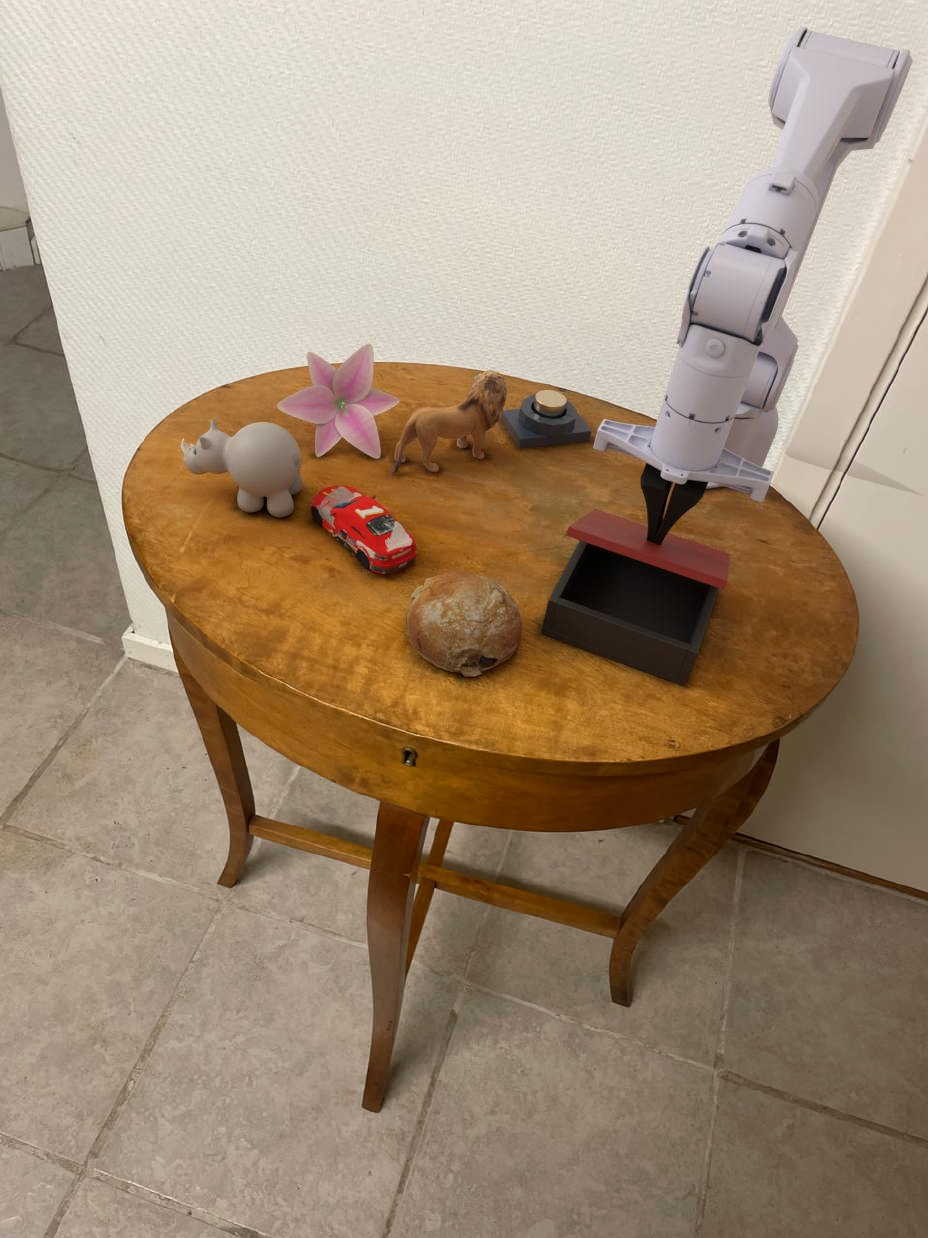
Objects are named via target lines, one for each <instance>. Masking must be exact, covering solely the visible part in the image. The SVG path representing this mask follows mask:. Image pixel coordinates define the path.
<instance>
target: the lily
mask: <svg viewBox="0 0 928 1238" xmlns="http://www.w3.org/2000/svg"><path fill="white" fill-rule="evenodd" d="M306 361H307V367H308V371H309V376H310V379H311V382H312V385H310V386H307V387H304V388H302V389H300V390H298V391H296V392H294V393H292V394H291V395H288V396H287V397H285V398H283V399H281V400H280V401H279V402H278V403H277V405H276V408H277V409H278V411H280V412H282V413H284V414H286V415H289V416H290V417H294V418H296V419H298V420H302V421H305V422H306V423H307V422H308V423H311V424H315V433H314V453H315V456H316V458H320V457H322V456H323V455H325V454H326V453H327V452H329V451H330V450H331V449H332V448H333V447H334V446H336V444H338V443H339V441H340V440H341V439H342V438H343V439H344V440H345V441H347V443H349V444H351V445H352V446H353V447H355V448H356V449H358V450H360V451H361V452H362V453H364V454H366V455H367V456H369V457H370V458H373V459H377V460H378V459H380V458H381V454H382V452H381V451H382V449H381V441H380V436H379V431H378V427H377V422H376V420H375V417H376V416H378V415H380V414H383V413H385V412H386V411H389V410H391V409H392V408H394V407H395V406H397V405H398V404H399V403H400V401H401V400H400V398H398V397H397V396H395V395H393V394H392V393H391V394H390V393H388V392H385V391H383V390H380V389H378V388H373V387H372V386H373V382H374V366H375V352H374V346H373V344H372V343H366V344H364V345H362V346H361V347H360V348H359V349H357V350H356V351H355V352H354V353H352V355H350V356H349V357H348V358H346V360H344V362H342V363H341V364H340V365H339V367H338V368H336V367H334V366H333V365H332V363H330V362H328V361H327V360H325V359H324V358H322V357H321V356H319V355H318V354H316V353H314V352H312V351H308V352H307V353H306Z"/></svg>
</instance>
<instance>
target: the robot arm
mask: <svg viewBox="0 0 928 1238" xmlns="http://www.w3.org/2000/svg"><path fill="white" fill-rule="evenodd" d="M912 64H913V57H912V55H911V51H910V50H909V49H905V48H903V49H902V51H900V50H898V49H894V48H889V47H885V46H881V45H877V44H872V43H867V42H863V41H858V40H853V39H850V38H844V37H840V36H836V35H831V34H826V33H823V32H817V31H815V30H809V29H808V27H806V26H799V27H798V28H797V29H796V30H795V31H793V32H792V33H790V35H789V37H788V38H787V40H786V42H785V44H784V46H783V49H782V51H781V55H780V57H779V60H778V62H777V65H776V68H775V72H774V75H773V77H772V81H771V84H770V89H769V93H768V98H767V104H768V107H769V110H770V116H771V118H772V123H773V125H774V126H775V127H777V128H779V129H780V130H782V132H781V134H780V137H779V140H778V144H777V146H776V149H775V151H774V154H773V157H772V160H771V162H770V166H769V167H766V168H763V169H760V170H758V171H756V172H754V173H753V175H751V176H750V177H749V178H748V179H747V181H746V182H745V184H744V186H743V188H742V189H741V192H740V194H739V196H738V199H737V201H736V202H735V204H734V206H733V208H732V211H731V213H730V215H729V217H728V219H727V221H726V223H725V225H724V227H723V229H722V232H721V233H720V235H719V238H718V240H717V241H716V243H715V246H714V248H711V247H710V246H708V245H707V246H705V247H704V249H703V250H702V252H701V253H700V255H699V257H698V259H697V262H696V264H695V266H694V267H693V270H692V273H691V276H690V278H689V281H688V284H687V288H686V291H685V295H684V300H683V307H682V315H681V322H680V323H681V324H680V327H679V331H678V333H677V334H678V335H677V337H676V345H678V348H677V353H676V355H675V358H674V362H673V366H672V369H671V372H670V375H669V379H668V383H667V386H666V389H665V393H664V396H663V399H662V400H663V401H662V402H661V407H660V409H659V413H658V417H657V420H656V423H655V426H650V425H641V424H633V423H626V422H625V423H624V422H619V421H614V420H610V419H607V418H603V420H602V421H601V423H600V424H599V426H598V428H597V431H596V435H595V439H594V443H593V447H592V448H593V449H594V450H596V451H600V452H607V451H608V450H611V451H614V452H617V453H620V454H622V455H626V456H629V457H632V458H636V459H639V460H640V461H643V462H644V463H645V464H644V465H645V466H644V468H643V471H642V472H641V475H640V489H641V491H642V494H643V497H644V502H645V506H646V514H647V526H648V532H647V539H646V540H647V541H649V542H652V543H655V544H658V545H662V542H663V540H664V538H665V536H666V535H667V533H669V532H670V530H671V529H672V528H673V527H674V525H675V524H676V523H677V522H678V521H679V520H680V519H681V518H682V517H683V516H684V515H685V514H686V513H687V512H689V511H690V510H691V509H692V508H694V507H695V506H697V504H699V503H700V501H701V500H702V499H703V497H704V494H705V492H706V490H708V489H715V488H721V487H726V488H729V489H732V490H735V491H738V492H742V493H745V494H748V495H749V498H750V499H751V500H752V501H754V502H758V503H764V500H765V497H766V496H767V494H768V492H769V491H768V490H769V488H770V486H771V484H772V480H773V477H774V473H775V472H774V471H773V470H770V469H768V468H765V467H763V466H764V464H765V461H766V459H767V457H768V454H769V452H770V449H771V447H772V445H773V442H774V441H775V437H776V435H777V431H778V427H779V411H778V408H777V404H778V402H779V400H780V398H781V395H782V394H783V391H784V389H785V385H786V384H787V381H788V378H789V377H790V374H791V371H792V368H793V367H794V363H795V360H794V359H795V357H796V355H797V352H798V349H799V344H798V343H799V339H798V337H797V335H796V333H795V332H794V331H793V329H791V328H790V326H789V325H788V324H787V322H786V321H785V319H784V318H783V314H784V311H785V309H786V306H787V303H788V300H789V298H790V296H791V292H792V290H793V288H794V284H795V282H796V280H797V276H798V274H799V271H800V269H801V266H802V263H803V262H804V261H803V260H804V258H805V255H806V253H807V250H808V247H809V245H810V242H811V239H812V237H813V234H814V231H815V229H816V227H817V224H818V221H819V218H820V216H821V212H822V210H823V208H824V205H825V203H826V200H827V197H828V194H829V191H830V190H831V187H832V184H833V181H834V179H835V176H836V173H837V170H838V169H839V167H840V165H841V164H843V162H844V160H845V159H846V158H847V157H848V156H849V155H850V154H851V152H853V151H865V150H873V149H874V148H875V146H876V143H879V142H880V141H881V139H882V136H883V134H884V132H885V131H886V129H887V127H888V125H889V122H890V119H891V118H892V115H893V112H894V110H895V108H896V105H897V102H898V100H899V97H900V96H901V92H902V90H903V88H904V86H905V83H906V80H907V78H908V75H909V73H910V70H911V67H912ZM673 483H674V486H673ZM672 486H673V487H672ZM671 489H672V490H671ZM670 493H671V494H670ZM669 495H670V497H669ZM668 498H669V500H668ZM667 502H668V503H667Z"/></svg>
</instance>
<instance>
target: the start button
mask: <svg viewBox="0 0 928 1238" xmlns="http://www.w3.org/2000/svg"><path fill="white" fill-rule="evenodd" d="M535 394H536V396H535V402H534V407H533V411H534V413H535V414H537V415H539V416H541V417H544V418H549V419H558V418H561V417H562V416H563V415H564V411H565V406H566V401H567V400H568V399H567V397H566V396H565V395H564V394H563V393H561V392H560V391H557V390H553V389H544V390H543V389H542V390H539V391H538V392H537V393H535Z"/></svg>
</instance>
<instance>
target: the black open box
mask: <svg viewBox="0 0 928 1238" xmlns="http://www.w3.org/2000/svg"><path fill="white" fill-rule="evenodd" d="M719 589H720V588H717V587H714V586H711V585H708V584H705V583H703V582H700V581H697V580H694V579H691V578H688V577H685V576H682V575H679V574H676V573H673V572H670V571H668V570H665V569H662V568H659V567H656V566H653V565H650V564H647V563H644V562H641V561H638V560H636V559H633V558H630V557H627V556H624V555H621V554H618V553H615V552H612V551H609V550H606V549H603V548H601V547H598V546H595V545H592V544H589V543H586V542H583V541H580V540H578V543H577V545H576V546H575V548H574V551H573V552H572V554H571V556H570V558H569V559H568V562H567V564H566V566H565V568H564V569H563V571H562V573H561V575H560V577H559V579H558V581H557V583H556V585H555V587H554V589H553V591H552V592H551V594H550V596H549V598H548V600H547V604H546V609H545V613H544V616H543V617H544V618H543V622H542V625H541V630H540V634H541V635H544V636H547V637H550V638H552V639H554V640H558V641H560V642H563V643H565V644H568V645H571V646H574V647H577V648H579V649H582V650H585V651H587V652H590V653H592V654H596V655H599V656H601V657H604V658H607V659H609V660H611V661H615V662H617V663H620V664H623V665H626V666H628V667H631V668H634V669H636V670H639V671H642V672H644V673H647V674H650V675H652V676H656V677H657V678H661V679H663V680H666V681H669V682H671V683H674V684H677V685H679V686H682V687H685V685H686V683H687V680H688V678H689V676H690V674H691V670H692V668H693V666H694V665H695V664H694V663H695V661H696V659H697V657H698V655H699V651H700V648H701V645H702V641H703V639H704V636H705V632H706V629H707V626H708V622H709V620H710V618H711V614H712V611H713V607H714V605H715V602H716V598H717V595H718V592H719Z"/></svg>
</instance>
